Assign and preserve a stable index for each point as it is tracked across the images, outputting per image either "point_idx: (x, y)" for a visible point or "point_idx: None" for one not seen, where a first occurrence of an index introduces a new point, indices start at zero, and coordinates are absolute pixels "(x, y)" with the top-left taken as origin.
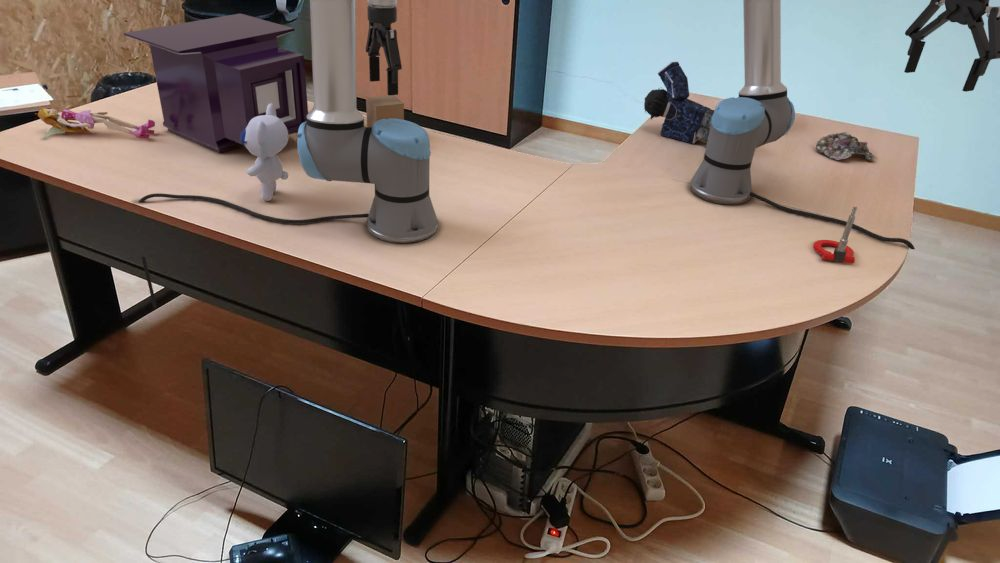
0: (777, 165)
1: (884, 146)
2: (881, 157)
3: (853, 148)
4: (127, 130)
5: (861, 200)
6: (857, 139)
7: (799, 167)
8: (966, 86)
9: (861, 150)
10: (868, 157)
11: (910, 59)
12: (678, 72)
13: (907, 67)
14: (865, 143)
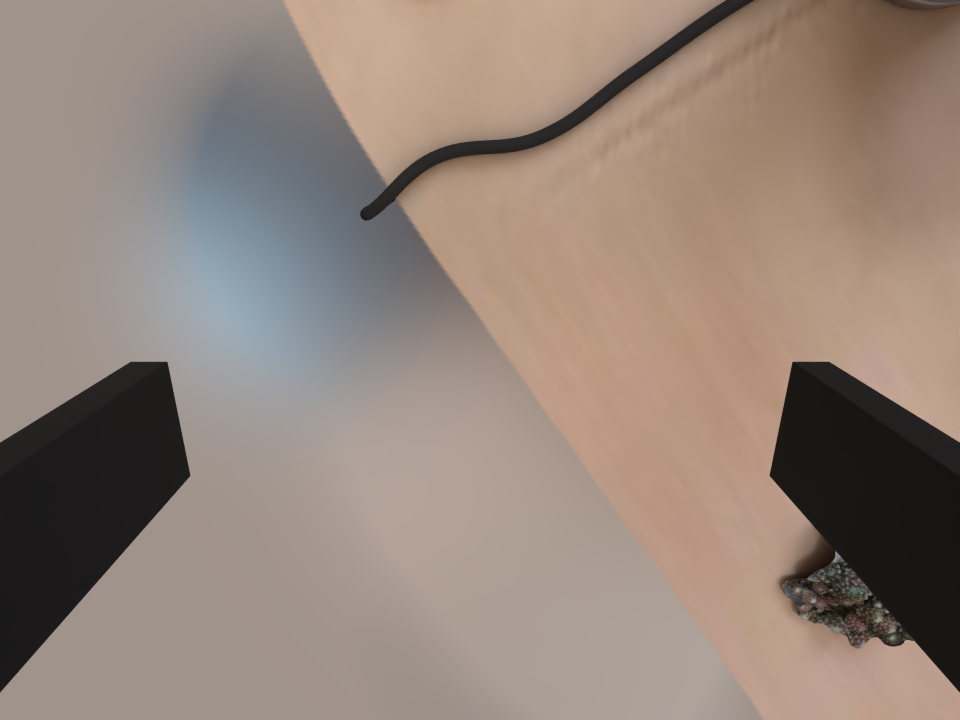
0: (946, 303)
1: (823, 695)
2: (785, 632)
3: (853, 575)
4: None
5: (639, 342)
6: (885, 642)
7: (891, 360)
8: (109, 378)
9: (835, 598)
10: (802, 592)
11: (902, 426)
12: None
13: (840, 381)
14: (854, 640)
